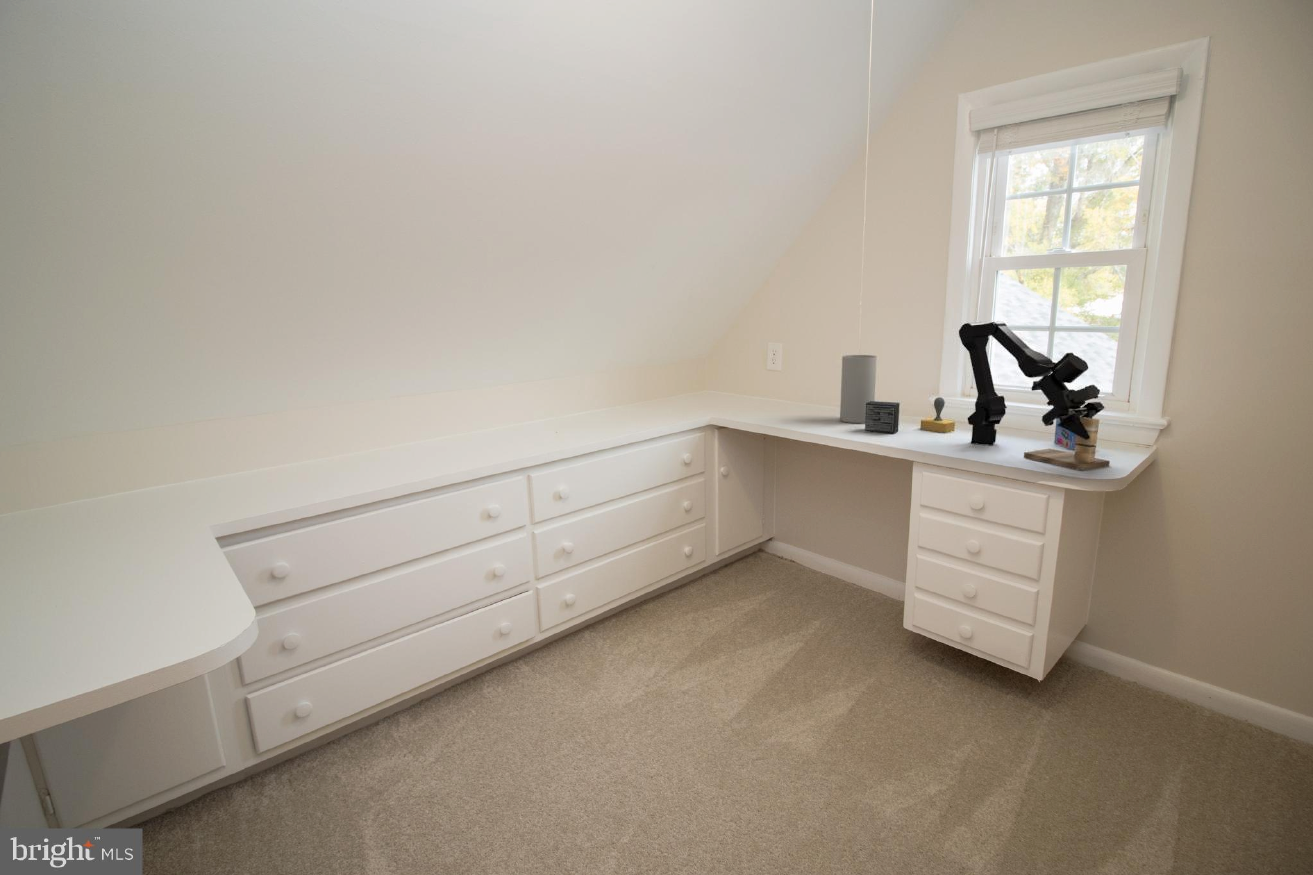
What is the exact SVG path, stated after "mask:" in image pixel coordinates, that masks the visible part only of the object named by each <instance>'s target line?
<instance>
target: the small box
mask: <svg viewBox="0 0 1313 875" xmlns="http://www.w3.org/2000/svg"><path fill="white" fill-rule="evenodd" d="M899 418H900V402H894V401H891V402H890V401H870V402H867V403H866V418H865V423H864V424H865V425H864V432H865V431H870V432H869V433H878V434H890V433H891V434H893V435H894V434H896V433H898V432H899V425H900V424H899V422H900V420H899Z"/></svg>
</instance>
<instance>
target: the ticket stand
mask: <svg viewBox="0 0 1313 875" xmlns="http://www.w3.org/2000/svg"><path fill="white" fill-rule="evenodd" d="M1075 445H1076V446H1075V449H1074V452H1069V451H1064V450H1059V449H1058V450H1057V449H1054V448H1050V447H1049V448H1044V449H1037V450H1032V451H1025V452H1024V453H1023V458H1024V459H1028V460H1033V461H1038V462H1042V463H1047V464H1050V465H1055V466H1060V467H1064V468H1067V467H1068V469H1072V470H1076V469H1078V470H1077V471H1080V470H1086V471H1091V470H1096V469H1100V468H1101V467H1102V468H1106V467H1110V462H1111V461H1110V460H1108V459H1107V460H1106V459H1104V458H1103V459H1102V458H1097V457H1095V456H1096V451H1097V444H1096V445H1091V446H1090V445H1085V444H1080V443H1077V444H1075ZM1090 469H1091V470H1090Z"/></svg>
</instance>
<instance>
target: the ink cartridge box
mask: <svg viewBox="0 0 1313 875" xmlns="http://www.w3.org/2000/svg"><path fill="white" fill-rule="evenodd" d="M1059 420H1060V419H1059V418H1058V419H1055V429H1054V430H1055V431H1054V444H1056V445H1059V446H1061V447H1063V448H1066V449H1067V450H1075V446H1076V445H1075V444H1077V443H1076V437H1077V435H1076V434H1074V433H1072V432H1070V431H1068V430H1066V429H1064V428H1062V427H1058V426H1057V425H1058V424H1059V423H1061V422H1060V421H1059Z"/></svg>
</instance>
